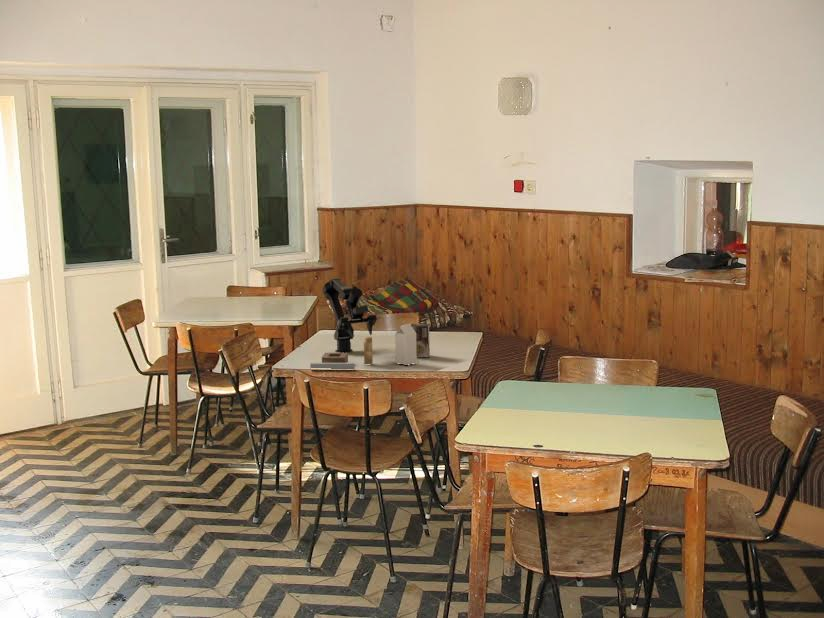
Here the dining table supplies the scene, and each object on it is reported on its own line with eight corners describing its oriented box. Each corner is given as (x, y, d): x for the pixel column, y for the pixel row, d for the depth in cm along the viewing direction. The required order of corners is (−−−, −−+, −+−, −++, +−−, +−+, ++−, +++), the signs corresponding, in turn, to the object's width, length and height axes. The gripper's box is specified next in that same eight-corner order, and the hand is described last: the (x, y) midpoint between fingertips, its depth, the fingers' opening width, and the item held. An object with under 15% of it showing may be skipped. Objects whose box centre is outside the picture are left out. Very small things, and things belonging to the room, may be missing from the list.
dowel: (362, 364, 456) (361, 338, 454) (368, 363, 459) (367, 336, 457) (368, 365, 453) (368, 339, 451) (374, 364, 457) (373, 337, 454)
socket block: (325, 362, 461) (325, 352, 460) (348, 362, 460) (347, 352, 459) (321, 368, 450) (321, 357, 449) (345, 368, 449) (344, 357, 448)
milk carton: (416, 363, 456) (416, 324, 453) (406, 366, 451) (405, 326, 448) (405, 361, 461) (405, 322, 458) (395, 364, 456) (394, 325, 453)
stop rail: (311, 370, 447) (311, 362, 446) (353, 370, 446) (353, 362, 445) (310, 371, 445) (310, 363, 444) (353, 371, 444) (353, 363, 443)
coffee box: (430, 355, 474) (429, 323, 471) (428, 358, 467) (428, 325, 464) (411, 355, 475) (411, 323, 472) (410, 358, 468) (409, 325, 465)
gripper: (339, 301, 458) (348, 327, 450) (375, 298, 466) (384, 324, 458) (334, 314, 467) (342, 341, 459) (369, 311, 474) (378, 337, 466)
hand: (362, 335), depth 460 cm, fingers open, 9 cm apart
